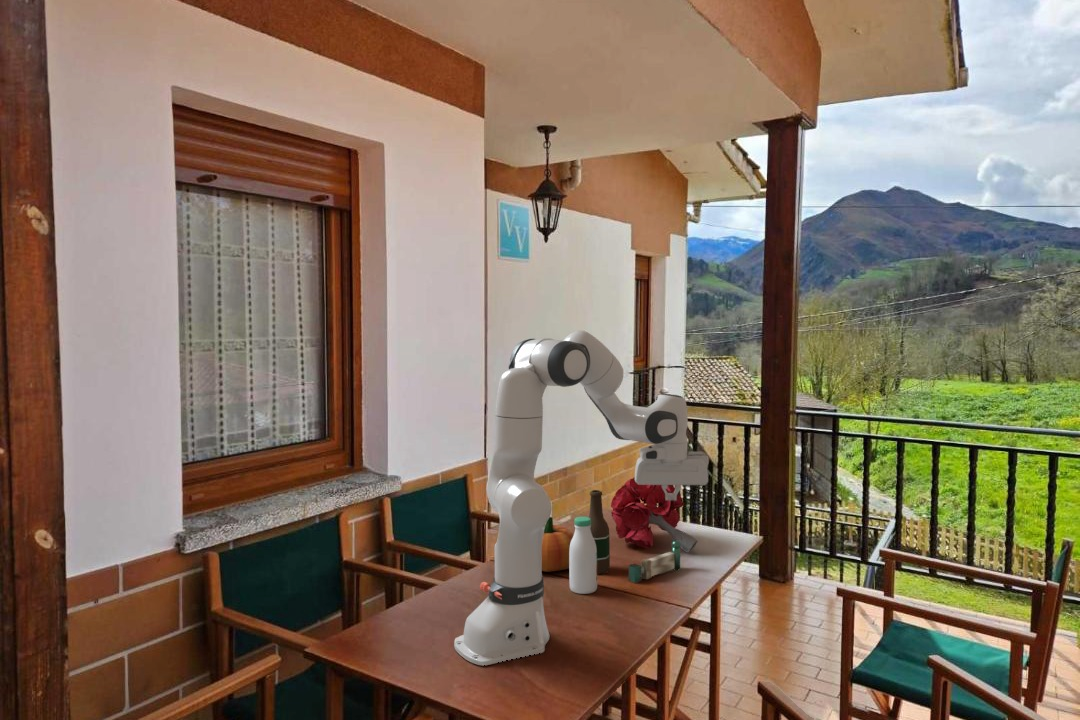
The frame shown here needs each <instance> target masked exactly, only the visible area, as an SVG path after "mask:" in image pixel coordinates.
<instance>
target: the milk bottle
mask: <svg viewBox="0 0 1080 720" xmlns="http://www.w3.org/2000/svg"><path fill="white" fill-rule="evenodd" d="M574 527H575V529H574V532H573V534H574V536H573V538H572V540H571V543H570V549H569V568H568V570H569V573H568V574H569V575H568V576H569V579H568V580H569V589H570V591H571V592H573V593H575V594H579V595H585V594H586V595H587V594H593V593H594V592H596V591H597V589H598V575H597V548H596V543H595V541H594V538H593V536H592V534H591V530H590V527H591V519H590V518H589V516H576V517H575V518H574Z"/></svg>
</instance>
